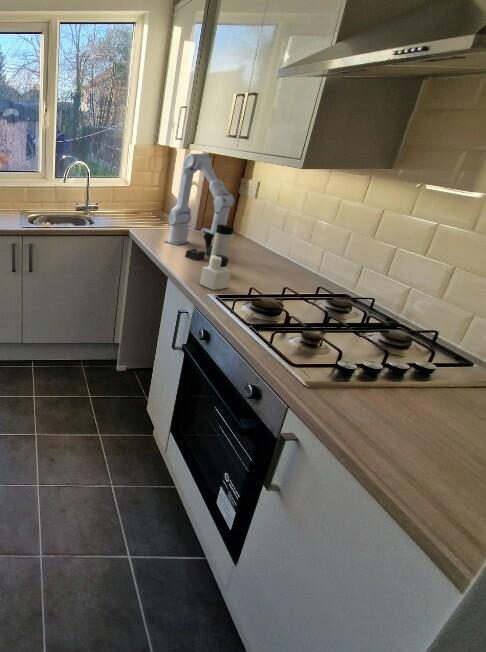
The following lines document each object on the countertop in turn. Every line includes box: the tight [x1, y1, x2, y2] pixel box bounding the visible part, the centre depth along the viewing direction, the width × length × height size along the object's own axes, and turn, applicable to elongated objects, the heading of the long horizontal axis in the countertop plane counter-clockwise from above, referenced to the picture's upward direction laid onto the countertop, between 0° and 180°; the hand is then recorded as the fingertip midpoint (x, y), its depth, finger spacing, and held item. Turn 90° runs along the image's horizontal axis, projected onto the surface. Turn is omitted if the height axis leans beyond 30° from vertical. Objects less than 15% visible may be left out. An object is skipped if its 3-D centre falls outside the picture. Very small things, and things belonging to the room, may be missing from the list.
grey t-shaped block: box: [205, 245, 213, 257], centre depth 190 cm, size 6×5×3 cm
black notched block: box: [185, 248, 206, 261], centre depth 190 cm, size 6×6×3 cm
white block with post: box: [199, 255, 232, 291], centre depth 156 cm, size 7×7×12 cm
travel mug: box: [210, 224, 235, 258], centre depth 169 cm, size 6×7×20 cm
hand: (213, 251), depth 191 cm, fingers closed on grey t-shaped block, 5 cm apart
